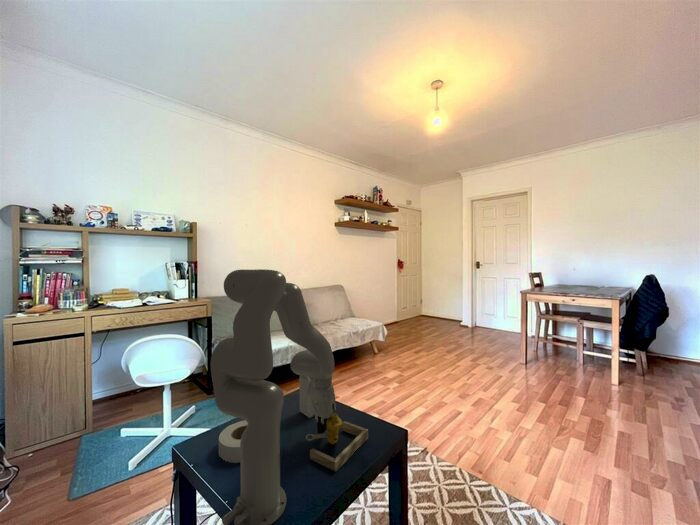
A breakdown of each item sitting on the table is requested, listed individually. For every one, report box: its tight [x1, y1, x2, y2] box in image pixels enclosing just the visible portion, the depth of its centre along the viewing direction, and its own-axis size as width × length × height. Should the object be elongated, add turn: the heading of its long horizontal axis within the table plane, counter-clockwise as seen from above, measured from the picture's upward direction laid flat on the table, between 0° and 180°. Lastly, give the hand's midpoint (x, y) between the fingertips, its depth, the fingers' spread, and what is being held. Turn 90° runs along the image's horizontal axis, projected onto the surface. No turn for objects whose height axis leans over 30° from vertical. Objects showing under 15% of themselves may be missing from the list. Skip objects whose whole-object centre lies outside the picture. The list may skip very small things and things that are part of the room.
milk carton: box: [298, 375, 314, 419], centre depth 117 cm, size 7×7×19 cm
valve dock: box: [309, 420, 369, 473], centre depth 94 cm, size 19×10×3 cm, turn 147°
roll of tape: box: [218, 420, 248, 464], centre depth 95 cm, size 16×16×6 cm
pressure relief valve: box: [305, 413, 343, 445], centre depth 95 cm, size 6×12×10 cm, turn 107°
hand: (322, 432), depth 100 cm, fingers closed
